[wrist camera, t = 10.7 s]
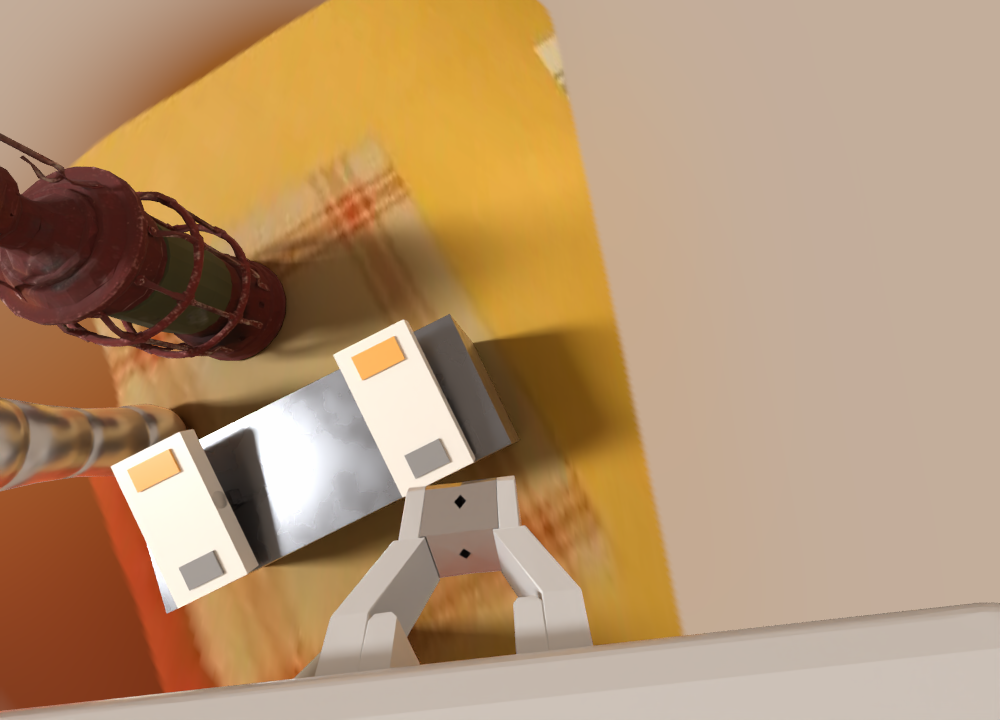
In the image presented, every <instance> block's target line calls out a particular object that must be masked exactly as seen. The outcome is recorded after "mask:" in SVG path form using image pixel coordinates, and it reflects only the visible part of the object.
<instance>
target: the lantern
mask: <svg viewBox="0 0 1000 720" xmlns="http://www.w3.org/2000/svg"><path fill="white" fill-rule="evenodd" d="M0 141H2V142H4V143H6V144H8V145H10V146H12V147H14V148H16V149H18V150H20V151H21V152H23V153H25V154H27V155H29V156H31V157H33V158H35V159H37V160H39V161H40V162H42V163H44V164H47V165H50V166H53V167H54V168H56V169H57V170H58V171H56V172H54V173H52V174H50V175H48V176H46V177H45V176H44V175H43V174H42V173H41V171H40V170H39V169H38V168H37V167H36V166H35V165H34V164H32V163H31V162H30V161H29V160H28V159H27V158H25V157H24V156H22V157H20V158H21V159H23V160H24V161H26V162H27V163H29V164H30V165H31V166H32V168H33V170H34V171H35V173H36V175H37V177H38V178H40V180H38V181H37V182H36V183H35V184H33V185H32V186H31V187H30V188H28V189H27V190H26V191H25V192H24V193H23V194H21V195H20V193H19V189H18V186H17V183H16V181H15V180H14V179H13V178H12V176H11V175H10V174H9V172H8V171H7V170H6V169H4V168H2V167H0V299H1V300H2V301H3V302H4V303H5V305H6V306H7V307H8V308H9V309H10V310H11V311H12V312H13V313H14V314H15V315H17V316H19V317H22V318H25V319H28V320H30V321H33V322H36V323H39V324H42V325H57V326H58V327H59V328H60V329H61V330H62V331H63V332H65V333H67V334H70V335H73V336H77V337H79V338H81V339H83V340H85V341H87V342H90V341H91V342H93V343H95V344H98V345H103V346H133V347H136V348H138V349H141V350H143V351H145V352H147V353H149V354H155V355H157V356H160V357H165V358H185V357H191V358H192V357H195V356H209V357H212V358H215V359H218V360H226V361H238V360H242V359H246V358H248V357H251V356H254V355H255V354H257V353H259V352H260V351H262V350H263V349H265V348H266V347H267V345H268V344H269V343H270V342H271V341H272V340H273V339H274V338H275V337H276V335H277V333H278V332H279V330H280V328H281V326H282V323H283V320H284V317H285V310H286V297H285V294H284V290H283V286H282V284H281V282H280V281H279V279H278V277H277V276H276V275H275V274H274V273H273V272H272V271H271V270H270V269H269V268H267V267H265V266H264V265H262V264H260V263H257V262H254V261H250V260H249V259H247V258H246V256H245V253H244V252H243V250H242V249H241V247H240V246H239V244H238V243H237V242H236V241H235V240H234V239H233V238H232V237H230V236H229V235H228V234H227V233H226V231H224V230H222V229H220V228H218V227H216V226H215V227H213V226H211V225H210V224H208V223H207V222H205V221H203V220H202V219H200V218H199V217H197V216H195V215H194V214H192V213H191V212H189V211H187V210H186V209H185V208H184V207H182V206H181V205H179V204H178V203H177V201H176V200H175V199H173V198H170V197H168V196H165V195H163V194H161V193H159V192H135V191H134V190H133V189H132V187H131V186H130V185H129V184H128V183H127V182H126V181H124V180H122V179H121V178H119V177H117V176H116V175H114V174H113V173H111V172H109V171H106V170H103V169H99V168H96V167H72V168H67V169H64V167H62V166H61V165H59V164H57V163H55V162H54V161H52V160H50V159H48V158H46V157H44V156H43V155H40V154H39V153H37V152H35V151H33V150H31V149H29V148H27V147H25V146H23V145H21V144H20V143H18V142H16V141H14V140H12V139H10V138H8V137H6V136H4V135H2V134H0ZM141 200H151V201H156V202H160V203H161V204H163V205H165V206H167V207H170V208H172V209H174V210H175V211H176V212H177V213H179V214H180V215H181V216H182V218H183V220H184V221H185V223H186V224H185V225H175V226H171V225H169V224H168V223H167V224H166V223H164V222H162V221H160V220H158V219H156V218H154V217H152V216H151V215H149V214H147V213H146V212H145V211H144V208H143V205H142V202H141ZM195 221H196V222H197V223H199V224H196V222H195ZM188 231H190V234H191V235H189V234H186V233H183V232H188ZM199 231H204V232H208V233H211V234H214V235H216V236H218V237H220V238H222V239H224V240H226V241H227V242H228V243H229V244H230V245H231V247H232V248H233V250H234V253H235V256H236V257H234V256H230V255H229V254H223V253H221V252H219V251H217V250H216V249H214V248H212V247H211V246H209V245H207V244H206V243H205V242H204V240H203V237H202V236H201V235H200V233H199ZM212 253H213V254H212ZM108 316H110V317H114V318H117V319H120V320H121V321H122V323H123V325H124V327H125V329H126V330H127V332H124V331H122V330H121V329H119V328H118V327H117V326H115V324H114V323H113V322H112V321H111V319H110V318H109V317H108ZM86 318H100V319H101V320H102V321H103V322H104V323H105V324H106V325H107V326H108V327H109V329H110V330H111V331H113V332H114V333H115V334H116V335H118V336H119V337H120V339H116V338H112V337H107V336H103V335H98V334H97V333H94V332H90V331H88V330H86V329H85V328H83V327H82V326H81V325H79V324H78V323H77V322H79V321H81V320H83V319H86ZM132 323H134V324H137V325H141V326H144V327H147V328H149V329H147V330H145V331H143V332H142V331H141V332H139V333H137V332H136V331H135V329H134V328H133V326H132ZM66 325H67V326H68V327H69V328H68V327H67V326H66ZM160 332H168V333H174V334H175V335H176V336H177V337H178V338H180V339H181V340H183V341H184V342H185V343H180V344H173V343H168V342H163V341H159V340H154V339H150V338H151V337H153V336H155V335H156V334H158V333H160ZM186 343H187V344H186ZM151 344H152V345H151ZM153 345H157V346H153ZM158 346H163V347H167V348H162V347H158ZM186 346H187V347H186ZM173 349H178V350H183V351H179V352H177V351H171V350H173Z"/></svg>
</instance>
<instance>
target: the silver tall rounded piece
mask: <svg viewBox="0 0 1000 720" xmlns="http://www.w3.org/2000/svg"><path fill="white" fill-rule="evenodd" d="M181 431H186V427H185V424H184V422H183V421H182V420H181V419H180V417H179V416H178V415H177V414H176V413H174V412H173V411H171V410H170V409H167V408H163V407H159V406H155V405H151V404H141V405H130V406H124V407H118V408H90V409H81V408H68V407H58V406H48V405H41V404H35V403H29V402H23V401H17V400H11V399H6V398H0V491H3V490H7V489H12V488H16V487H20V486H25V485H29V484H33V483H39V482H45V481H52V480H58V479H65V478H71V477H87V476H115V475H114V473H113V471H112V469H111V466H113V465H115V464H117V463H118V462H120V461H122V460H124V459H126V458H128V457H130V456H132V455H134V454H136V453H138V452H140V451H142V450H144V449H146V448H148V447H150V446H152V445H154V444H156V443H158V442H160V441H162V440H164V439H166V438H168V437H170V436H172V435H174V434H176V433H178V432H181Z"/></svg>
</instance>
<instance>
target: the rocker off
mask: <svg viewBox="0 0 1000 720" xmlns="http://www.w3.org/2000/svg"><path fill="white" fill-rule="evenodd" d="M111 469H112V471H113V473H114V475H115V477H116V479H117V481H118V483H119V485H120V488H121V490H122V492H123V494H124V496H125V498H126V500H127V502H128V504H129V507H130V509H131V511H132V513H133V515H134V517H135V519H136V521H137V523H138V525H139V528H140V530H141V532H142V534H143V536H144V538H145V540H146V542H147V544H148V547H149V549H150V551H151V553H152V555H153V557H154V559H155V561H156V563H157V566H158V568H159V570H160V572H161V574H162V576H163V578H164V580H165V582H166V585H167V587H168V589H169V591H170V593H171V595H172V597H173V599H174V601H175V603H176V606H177V608H180V607H182V606H184V605H186V604H188V603H190V602H192V601H194V600H196V599H198V598H200V597H202V596H204V595H206V594H208V593H210V592H212V591H214V590H216V589H218V588H220V587H222V586H224V585H226V584H228V583H230V582H232V581H234V580H236V579H239V578H241V577H243V576H245V575H247V574H248V573H249V572H251V571H252V570H253V569H255V568H256V567H257V566H258V565H259V564H258V562H257V560H256V558H255V556H254V554H253V552H252V550H251V548H250V546H249V543H248V541H247V539H246V537H245V535H244V533H243V531H242V529H241V527H240V525H239V523H238V521H237V518H236V516H235V514H234V512H233V510H232V508H231V506H230V504H229V502H228V500H227V498H226V496H225V493H224V491H223V489H222V487H221V485H220V483H219V481H218V479H217V477H216V475H215V473H214V471H213V468H212V466H211V464H210V462H209V460H208V458H207V456H206V454H205V452H204V450H203V448H202V446H201V443H200V441H199V439H198V437H197V435H196V433H195V431H194V429H191V430H186V431H181V432H178V433H176V434H174V435H172V436H170V437H168V438H166V439H164V440H162V441H160V442H158V443H156V444H154V445H152V446H150V447H148V448H146V449H144V450H142V451H140V452H138V453H136V454H134V455H132V456H130V457H128V458H126V459H124V460H122V461H120V462H118V463H117V464H115V465H113V466H111Z"/></svg>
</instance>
